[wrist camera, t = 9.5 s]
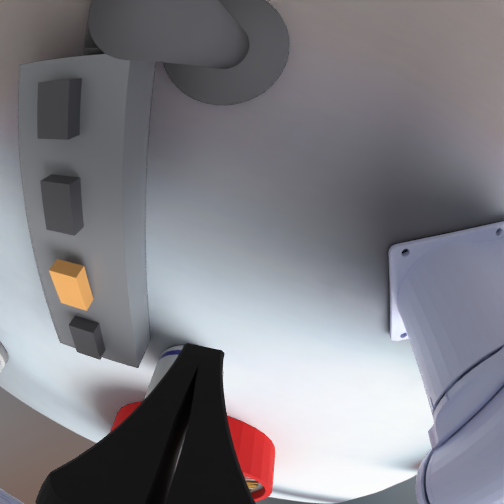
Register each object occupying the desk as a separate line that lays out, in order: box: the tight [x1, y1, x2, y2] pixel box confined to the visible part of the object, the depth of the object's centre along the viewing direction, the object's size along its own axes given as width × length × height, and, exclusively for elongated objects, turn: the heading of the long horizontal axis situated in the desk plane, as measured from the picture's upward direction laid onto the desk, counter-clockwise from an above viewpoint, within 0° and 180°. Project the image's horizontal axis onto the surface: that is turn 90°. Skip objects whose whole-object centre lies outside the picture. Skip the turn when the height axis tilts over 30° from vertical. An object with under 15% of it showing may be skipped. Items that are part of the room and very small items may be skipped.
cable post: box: [89, 0, 289, 105], centre depth 9 cm, size 6×6×10 cm
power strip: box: [18, 1, 156, 368], centre depth 15 cm, size 27×7×4 cm, turn 171°
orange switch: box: [49, 259, 93, 311], centre depth 17 cm, size 3×2×1 cm
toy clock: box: [110, 402, 275, 501], centre depth 31 cm, size 20×6×20 cm
